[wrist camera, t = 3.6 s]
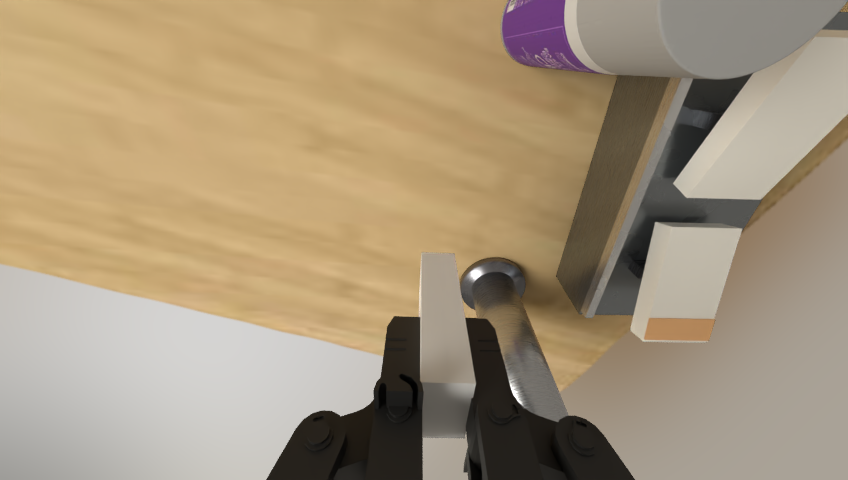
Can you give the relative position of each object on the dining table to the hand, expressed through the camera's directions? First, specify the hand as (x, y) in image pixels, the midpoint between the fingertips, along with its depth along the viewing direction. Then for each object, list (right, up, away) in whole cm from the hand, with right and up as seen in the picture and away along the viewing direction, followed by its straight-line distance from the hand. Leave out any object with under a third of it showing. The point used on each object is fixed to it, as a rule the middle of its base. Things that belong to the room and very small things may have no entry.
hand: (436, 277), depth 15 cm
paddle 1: (+17, -1, +6) cm, 18 cm away
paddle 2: (+17, +7, +1) cm, 18 cm away
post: (+6, -2, +15) cm, 16 cm away
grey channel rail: (+17, +7, +10) cm, 21 cm away
